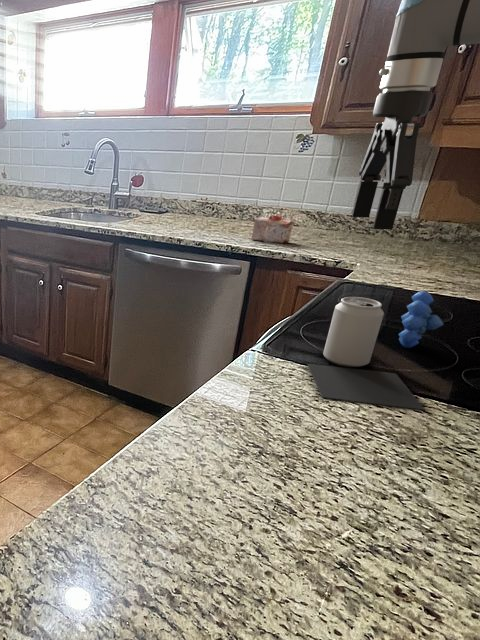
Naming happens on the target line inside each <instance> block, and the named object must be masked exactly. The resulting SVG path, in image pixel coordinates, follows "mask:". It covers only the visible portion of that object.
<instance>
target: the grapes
mask: <svg viewBox="0 0 480 640" xmlns="http://www.w3.org/2000/svg"><path fill="white" fill-rule="evenodd" d="M410 298H411V300H412V302H411V303H409V304H407V305H406V308H407V310H408V311H407V312H406V313H404V314H402V315H401V316H400V318H401V320H402V321H401V323H402V325H403V327H404V330H402V331H401V332H399V333H398V336H399V338H398V341H399V343H400V344H401V346H402V347H403V348H406V349H410V348H413V347H415V346H417V345H418V344H420V342H419V340H421V339H422V338H423V336H422V334H425V333H426V331H427V330H428V331H435V330H437V329H439V328H440V327H442V326H444V323H443V320H442V319H441V318H440V317H439V316H438V315H437V314H432V313H433V311H432V308H431V307H430V305H431V304H433V302H435V300H434V298H433V296H432V294H431V293H430V292H428V291H427V290H421V291H418V292H416V293H415V294H413V295H412V296H411V297H410Z"/></svg>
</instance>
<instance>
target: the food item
mask: <svg viewBox="0 0 480 640" xmlns="http://www.w3.org/2000/svg"><path fill="white" fill-rule="evenodd" d="M253 222H254V223H253V228H252V233H251V240H252V241H260V242H264V243H277V244H286V243H288V242H290V241H291V234H292V230H293V227H294V225H295V221H293V220H287V219H283V217H282V216H280V215H274V214H273V215H271V216H269V217H258V218H255V219H254V221H253Z"/></svg>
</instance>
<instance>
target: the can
mask: <svg viewBox="0 0 480 640" xmlns="http://www.w3.org/2000/svg"><path fill="white" fill-rule="evenodd" d="M382 306H383V304H382V302H380V301H378V300H375V299H372V298H368V297H362V296H361V297H360V296H346V297H342V298H341V299H340V302H339V303H338V304H336V305H335V307H334V308H333V309H334V310H333V313H332V317H331V322H330V325H329V330H328V333H327V337H326V341H325V345H324V349H323V352H322V354H323V357H324V358H325V359H326V360H327V361H329V362H330V363H332V364H334V365H338V366H340V367H344V368H361V367H364V366H366V365H368V364H369V365H370V362H371V358H372V355H373V352H374V350H375V349H374V348H375V345H376V342H377V338H378V335H379V332H380V328H381V325H382V322H383V319H384V315H385V312H384V311H383V309H382Z"/></svg>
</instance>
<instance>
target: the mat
mask: <svg viewBox="0 0 480 640" xmlns="http://www.w3.org/2000/svg"><path fill="white" fill-rule="evenodd" d="M306 365H307V368H308V369H309V372H310V374H311V376H312V378H313V381H314V383H315V385H316V387H317V389H318V391H319V394H320V396H321V398H322V399H326V400H327V399H328V400H333V401H334V400H335V401H343V402H350V403H359V404H367V405H375V406H383V407H389V408H390V407H392V408H400V409H406V410H407V409H408V410H415V411H423V412H424V411H425V410H426V409H425V408H424V407H423V405H422V404H421V403H420V402H419V400H418V399H417V398H416V397H415V395H414V394H413V393H412V391H411V390H410V389H409V388H408V387H407V385H406V384H405V383H404V381H403V380H402V379H401V377H399V375H398V374H397V373H396V372H389V371H378V370H369V369H361V368H360V369H359V368H353V367H344V366H335V365H325V364H324V365H323V364H313V363H307V364H306Z"/></svg>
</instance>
